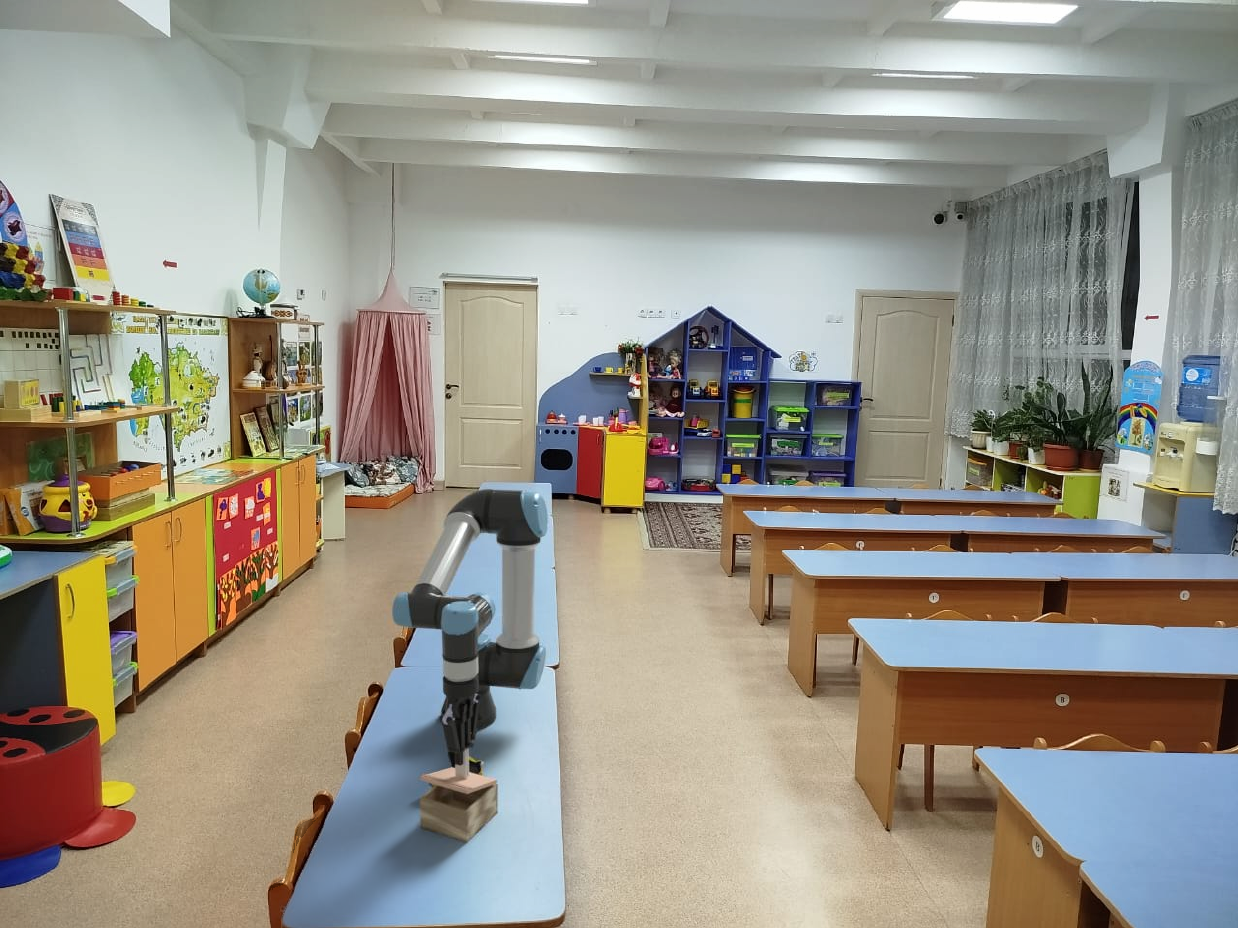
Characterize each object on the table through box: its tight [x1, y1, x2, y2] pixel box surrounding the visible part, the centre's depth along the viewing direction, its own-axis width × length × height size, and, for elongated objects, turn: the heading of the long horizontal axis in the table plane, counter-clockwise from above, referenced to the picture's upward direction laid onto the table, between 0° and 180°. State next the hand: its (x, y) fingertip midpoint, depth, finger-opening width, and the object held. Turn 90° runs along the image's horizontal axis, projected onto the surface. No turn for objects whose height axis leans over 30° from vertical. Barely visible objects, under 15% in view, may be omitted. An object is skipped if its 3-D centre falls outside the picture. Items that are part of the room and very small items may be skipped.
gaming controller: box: [428, 750, 485, 788], centre depth 197 cm, size 15×6×10 cm
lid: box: [419, 767, 498, 794], centre depth 181 cm, size 12×12×1 cm
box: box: [419, 783, 499, 843], centre depth 182 cm, size 12×12×7 cm
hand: (462, 775), depth 182 cm, fingers closed
